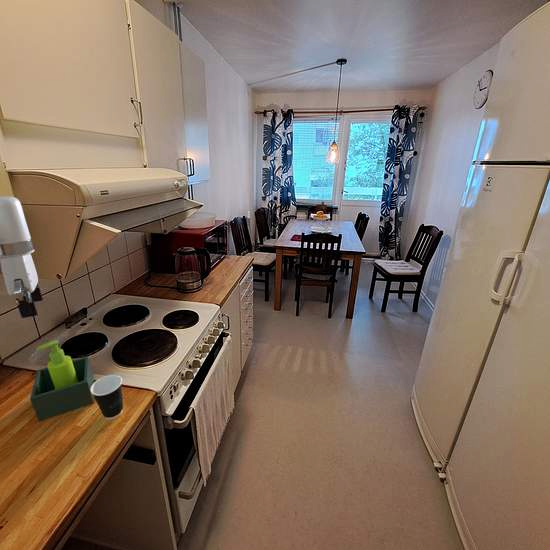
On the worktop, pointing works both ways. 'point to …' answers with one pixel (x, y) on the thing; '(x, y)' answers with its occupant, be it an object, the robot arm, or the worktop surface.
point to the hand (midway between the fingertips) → (33, 308)
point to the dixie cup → (108, 395)
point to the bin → (62, 391)
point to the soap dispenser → (59, 366)
